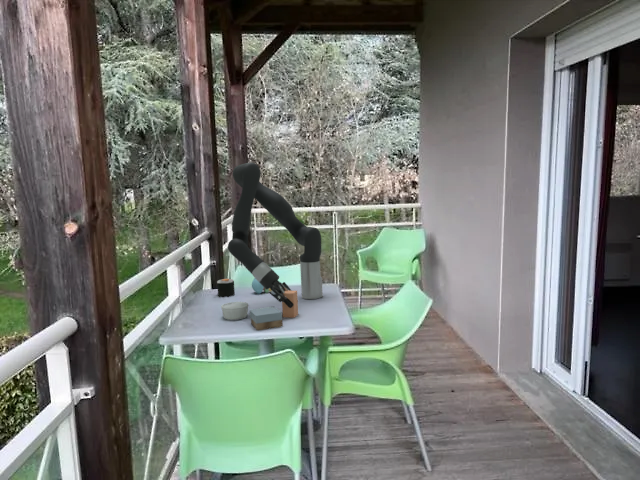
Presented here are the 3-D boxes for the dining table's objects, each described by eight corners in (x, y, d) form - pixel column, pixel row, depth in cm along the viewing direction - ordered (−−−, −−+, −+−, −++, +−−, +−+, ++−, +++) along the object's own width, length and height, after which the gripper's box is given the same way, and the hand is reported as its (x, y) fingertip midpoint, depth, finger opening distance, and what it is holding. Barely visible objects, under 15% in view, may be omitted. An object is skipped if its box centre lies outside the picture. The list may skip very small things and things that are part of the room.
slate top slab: (274, 313, 200) (274, 306, 199) (281, 319, 191) (281, 312, 190) (249, 317, 196) (249, 309, 196) (256, 323, 187) (255, 315, 187)
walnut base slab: (275, 321, 200) (275, 313, 200) (282, 327, 191) (282, 320, 190) (251, 324, 197) (250, 317, 196) (257, 331, 187) (256, 323, 187)
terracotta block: (286, 313, 208) (285, 290, 207) (298, 314, 207) (297, 290, 206) (282, 317, 203) (281, 293, 202) (294, 317, 202) (293, 293, 201)
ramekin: (234, 312, 214) (233, 300, 214) (254, 315, 209) (254, 302, 208) (216, 319, 205) (215, 306, 204) (237, 322, 199) (236, 309, 198)
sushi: (235, 292, 251) (234, 277, 250) (233, 296, 243) (232, 280, 242) (219, 293, 251) (218, 277, 250) (216, 297, 243) (215, 281, 242)
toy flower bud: (277, 276, 247) (253, 277, 243) (277, 294, 248) (253, 295, 244) (274, 273, 253) (251, 274, 250) (274, 291, 254) (250, 292, 251)
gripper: (264, 272, 198) (294, 303, 196) (277, 266, 212) (305, 294, 210) (252, 285, 200) (282, 315, 198) (266, 278, 214) (294, 306, 212)
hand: (294, 304), depth 204 cm, fingers closed on terracotta block, 5 cm apart
